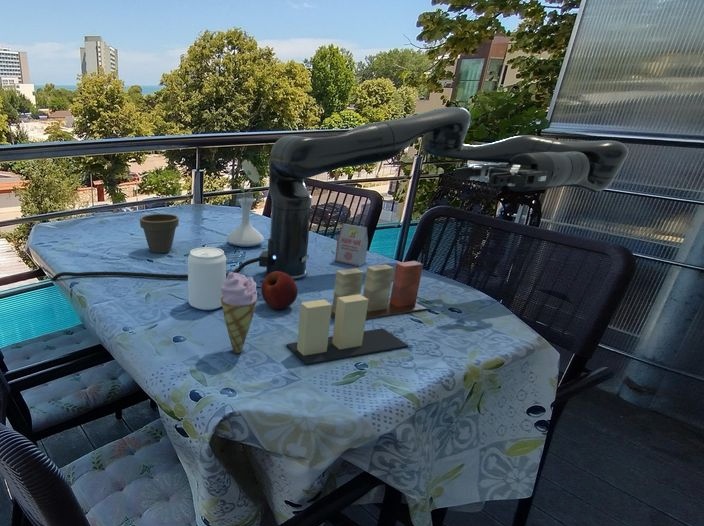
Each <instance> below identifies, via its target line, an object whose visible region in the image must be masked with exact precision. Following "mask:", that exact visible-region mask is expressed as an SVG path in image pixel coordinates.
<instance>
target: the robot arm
mask: <svg viewBox="0 0 704 526" xmlns="http://www.w3.org/2000/svg"><path fill="white" fill-rule="evenodd" d="M471 117H472V115H471V113H470V111H468V109H466V108H464V107H457V106H448V107H447V106H446V107H441V108H436V109H432V110H428V111H424V112H421V113H419V114H413V115H411V116H407V117H401V118H396V119H389V120H382V121H375V122H370V123H366V124H361V125H358V126H356V127H353V128H351V129H349V130H348V131H347V132H344V133H342V134H338V135H332V136H323V137H321V136H320V137H309V136H299V135H284V136H282V137H280V138H279V139H277V140H276V141H275V143H274V144H273V146H272V148H271V151H270V154H269V161H268V162H269V163H268V166H269V167H268V191H269V195H270V199H271V212H270V230H269V237H268V241H267V250H263V251H261V253H260V255H259V256H258V257H255V258H252V259H249V260H245V261H244V262H242V263H241V264H240V265H239V266H238V267H237V268H236V269H235V270H233V271H232V272H233V273H238V274H240V272H241V271H242V269H243V268H245V267H247V266H248V265H251V264H255V263H258V267H260V268H266V276H267V275H268V274H269V273H271V272H274V271H279V272H284V273H286V274H288V275H289V276H290V277H292V279H293V280H299V279H303V278H305V276H306V274H307V260H309V258H310V253H309V254H308V247H309V237H310V236H309V235H310V223H311V213H312V202H313V201H312V195H311V193H310V192H309V191H308V189H307V187H306V184H305V180H306V179H309V178H314V177H316V176H319V175H322V174H324V173H328V172H331V171H334V170H337V169H342V168H351V167H359V166H365V165H371V164H376V163H381V162H386V161H389V160H392V159H393V158H395V157H397V156H398V155H399V154H401V153H402V152H403V151H405V150H407V148H408V147H410V145H412V144H413V143H414V142H416V141H417V140H418V139H419V138H421V137H422V141H421V144H420V146H421V147H420V148H421V150H422V151H423V152H424V153H426V154H428V155H430V156H434V157H438V158H443V159H444V158H445V159H451V160H460V161H461V160H462V161H469V162H471V161H472V162H480V163H473V164H467V163H466V164H464V165H463V167H456V168H454V170H453V174H452V180H456V181H458V180H479V181H480V182H485V183H487V184H488V186H491V187H497V186H498V187H499V186H506V188H508V190H510V191H512V192H516V193H522V192H532V191H534V192H535V191H543V190H544V191H545V190H551V189H554V188H564V187H568V188H569V187H570V188H576V189H579V190H581V191H585V192H588V193H589V192H590V193H598V192H602V191H604V190H607V189H608V188H609V187H610V186H611V184H613V182H614V180H615V179H616V176H617V175H618V173H619V171H620V169H621V168H622V166H623V165H624V163H625V161H626V160H627V158H628V155H629V153H630V152H629V148H628V147H627V146H626V145H625V144H624V143H622V142H621V141H619V140H618V141H617V140H611V139H610V140H607V139H606V140H604V139H603V140H590V141H589V140H588V141H586V140H585V141H568V140H560V139H555V138H550V137H543V136H539V135H532V134H531V135H530V134H529V135H528V134H525V135H517V136H513V137H512V136H511V137H509V138H505V139H501V140H499V141H495V142H492V143H487V144H486V143H485V144H481V145H473V144H472V145H470V144H465V143H464V142H465V138H466V136H467V134H468V130H469V127H470V124H471V120H472V118H471ZM229 273H230V272H226V276H228V274H229ZM65 276H66V277H89V276H91V277H92V276H119V277H120V276H123V277H140V278H155V279H156V278H157V279H158V278H159V279H183V280H185V279H186V280H188V274H173V273H172V274H171V273H170V274H169V273H152V272H151V273H150V272H133V271H84V272H83V271H82V272H73V271H61V272H58V273H56V274H55V275H53V276H52V278H51V279H50V281H51V282H55V281H57V279H59V278H61V277H65Z"/></svg>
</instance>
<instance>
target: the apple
mask: <svg viewBox="0 0 704 526" xmlns="http://www.w3.org/2000/svg"><path fill="white" fill-rule="evenodd" d="M260 292H261V296H262V299H263V301H264V302H265V303H266V305H267V306H269V307H270V308H272V309H275V310H281V309H286V308H288V307H290V306H291V305H292V304H293V303H295V301H296V299H297V297H298V285H297V283H296V281H295V279H292V277H290V276H289V275H288V274H286V273H284V272H279V271H274V272H271V273H269V274H268V275H267V274H266V276H265V278H264V279H263V280H262V282H261V285H260Z"/></svg>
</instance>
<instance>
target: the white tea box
mask: <svg viewBox="0 0 704 526" xmlns="http://www.w3.org/2000/svg"><path fill="white" fill-rule="evenodd" d="M368 246H369V237H368V227H366V226H359V225H353V224H347V223H341V227H340V230H339V233H338V237H337V239H336V248H335V257H334V261H335V262H338V263H342V264H346V265H351V266H355V267H361V266H362V265H364V264H366V260H367V253H368Z"/></svg>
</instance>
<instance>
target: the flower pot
mask: <svg viewBox="0 0 704 526" xmlns="http://www.w3.org/2000/svg"><path fill="white" fill-rule="evenodd" d="M179 219H180V217H179V216H178V215H175V214H169V213H154V214H146V215H143V216H141V217H139V225H140V228H142V229H143V232H144V235H145V239H146V243H147V247H148V250H149V251H150V252H151V253H154V254H164V253H165V254H166V253H169V252H171V250H172V248H173V243H174V239H175V233H176V229H177V227H179V225H180V223H179Z"/></svg>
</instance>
